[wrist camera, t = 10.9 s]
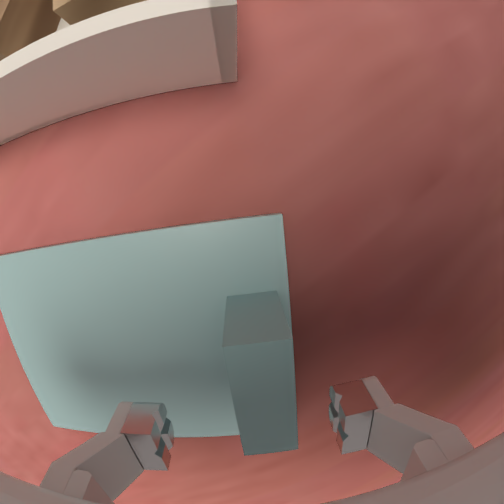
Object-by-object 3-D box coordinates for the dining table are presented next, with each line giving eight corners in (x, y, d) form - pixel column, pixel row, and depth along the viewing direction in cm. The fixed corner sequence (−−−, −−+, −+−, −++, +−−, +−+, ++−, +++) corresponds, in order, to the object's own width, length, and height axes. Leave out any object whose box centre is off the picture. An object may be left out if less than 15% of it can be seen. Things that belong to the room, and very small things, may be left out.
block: (67, 2, 9) (28, -35, 5) (42, 72, 10) (-11, 49, 6) (12, 17, 8) (-30, -7, 4) (-10, 83, 9) (-61, 70, 5)
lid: (278, 211, 13) (303, 231, 8) (294, 415, 15) (310, 485, 10) (-3, 254, 12) (-64, 280, 8) (59, 416, 15) (28, 467, 10)
